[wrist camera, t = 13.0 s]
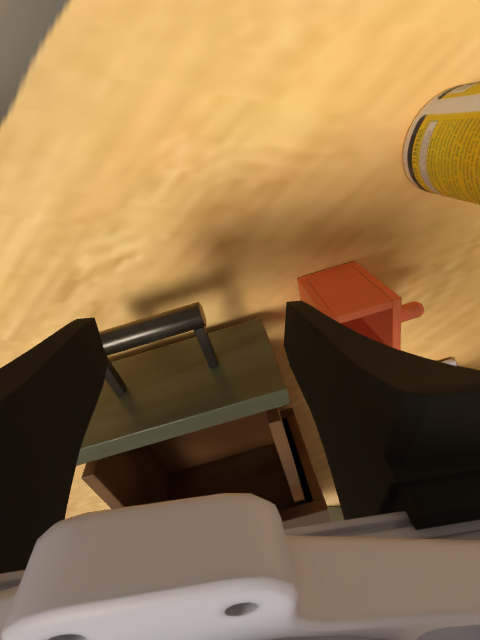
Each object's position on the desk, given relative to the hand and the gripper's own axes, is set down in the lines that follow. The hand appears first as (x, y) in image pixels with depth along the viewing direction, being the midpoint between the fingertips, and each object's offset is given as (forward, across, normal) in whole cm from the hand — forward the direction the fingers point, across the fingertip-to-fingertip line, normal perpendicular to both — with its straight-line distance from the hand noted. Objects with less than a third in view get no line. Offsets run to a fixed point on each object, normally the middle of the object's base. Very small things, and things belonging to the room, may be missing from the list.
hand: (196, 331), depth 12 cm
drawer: (+9, +1, +11) cm, 14 cm away
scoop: (+9, -11, +4) cm, 15 cm away
